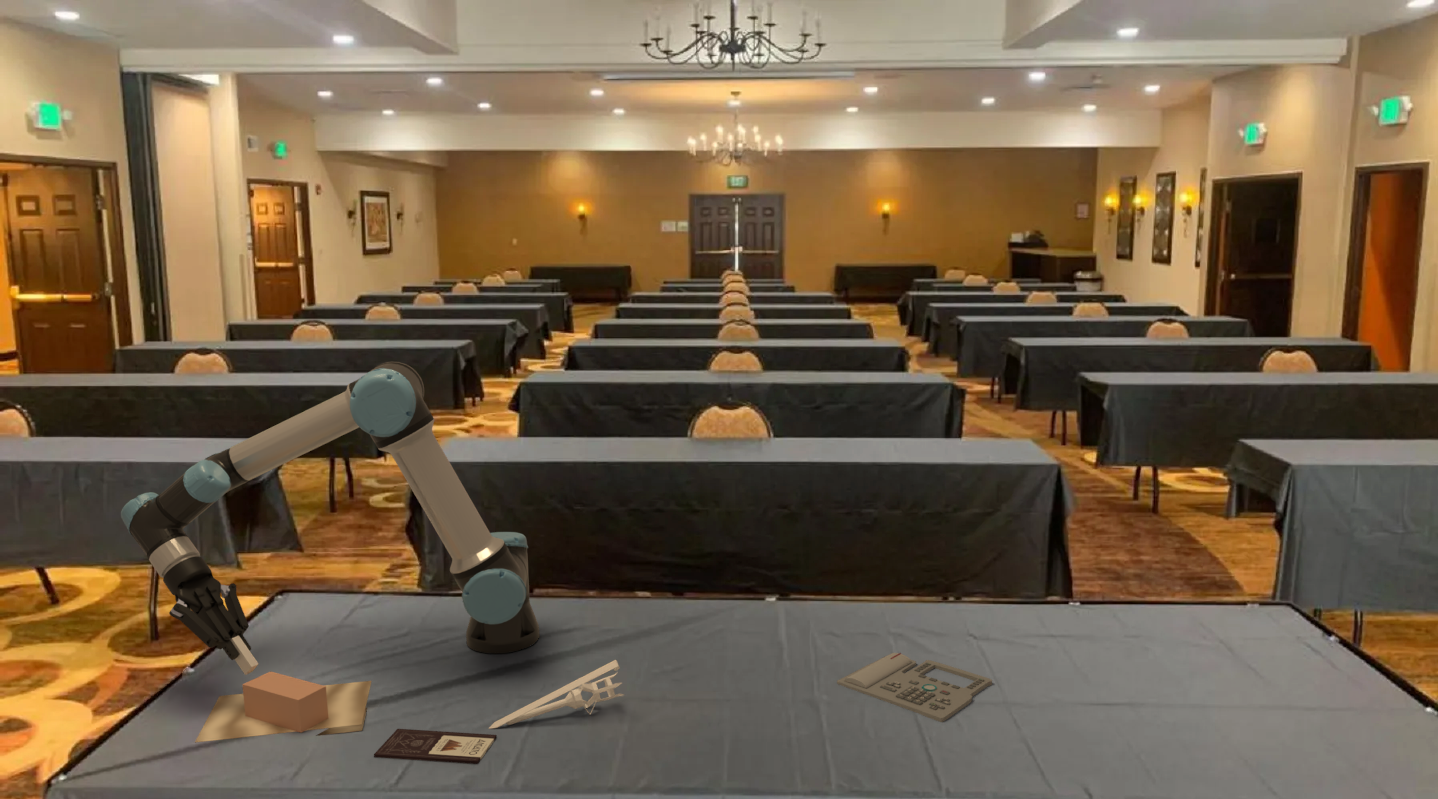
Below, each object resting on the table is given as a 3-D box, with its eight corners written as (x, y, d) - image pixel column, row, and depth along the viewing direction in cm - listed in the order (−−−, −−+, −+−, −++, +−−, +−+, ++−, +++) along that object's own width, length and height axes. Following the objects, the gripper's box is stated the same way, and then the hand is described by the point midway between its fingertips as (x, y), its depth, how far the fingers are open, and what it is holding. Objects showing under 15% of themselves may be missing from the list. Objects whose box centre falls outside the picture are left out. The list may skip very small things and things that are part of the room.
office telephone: (835, 674, 202) (894, 642, 216) (835, 687, 202) (894, 655, 217) (942, 711, 186) (998, 674, 201) (942, 725, 187) (998, 687, 201)
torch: (512, 764, 191) (637, 699, 193) (492, 743, 184) (622, 676, 187) (503, 735, 195) (626, 671, 197) (484, 713, 188) (611, 648, 191)
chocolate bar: (397, 728, 186) (496, 734, 183) (397, 733, 186) (496, 740, 183) (373, 754, 177) (477, 761, 174) (374, 759, 177) (477, 766, 174)
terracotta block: (242, 684, 188) (298, 700, 182) (270, 671, 194) (325, 686, 187) (245, 715, 189) (301, 732, 183) (273, 702, 195) (328, 718, 188)
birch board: (372, 686, 203) (371, 680, 203) (362, 730, 186) (361, 724, 186) (220, 702, 198) (219, 695, 197) (195, 748, 180) (194, 742, 180)
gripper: (204, 568, 203) (272, 666, 199) (140, 590, 192) (211, 695, 187) (220, 545, 200) (290, 645, 195) (156, 566, 189) (229, 672, 184)
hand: (251, 669), depth 191 cm, fingers closed
